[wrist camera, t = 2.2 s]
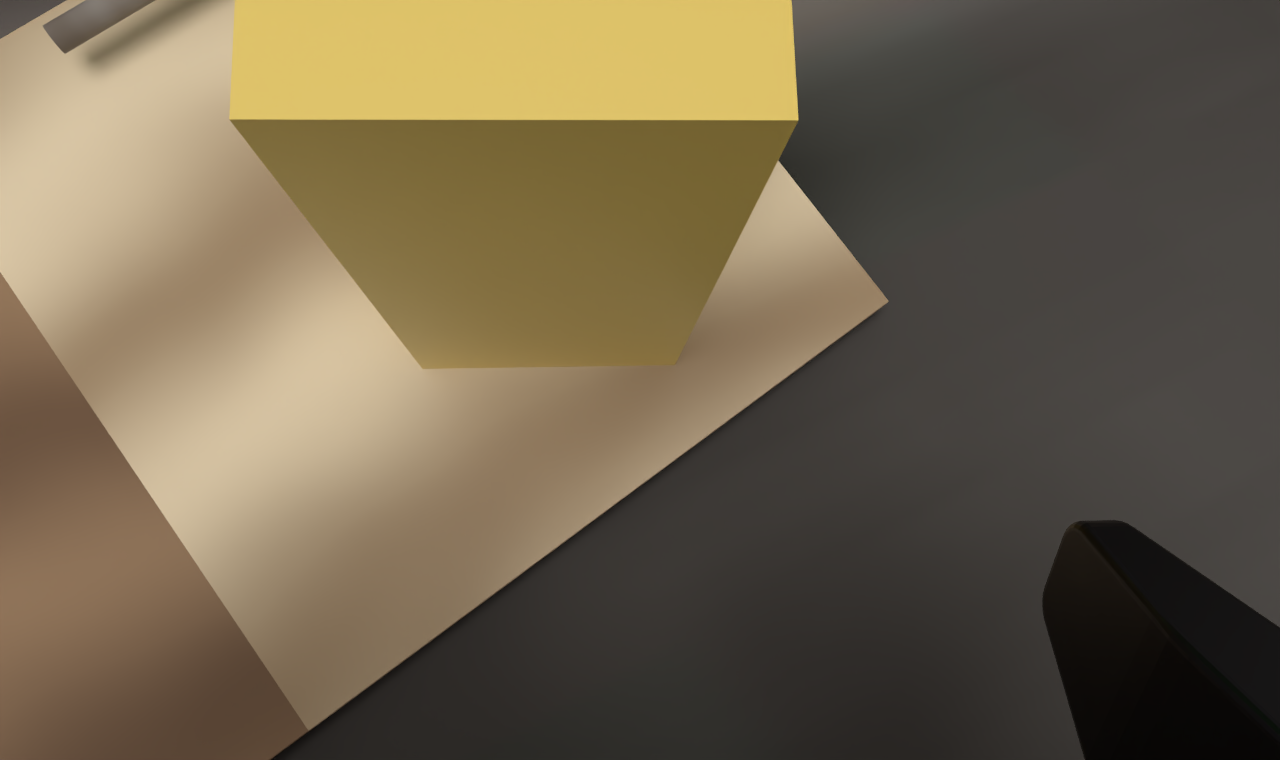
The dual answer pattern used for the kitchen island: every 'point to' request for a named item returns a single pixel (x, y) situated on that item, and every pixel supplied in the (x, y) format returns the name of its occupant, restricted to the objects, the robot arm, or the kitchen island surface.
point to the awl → (89, 20)
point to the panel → (282, 416)
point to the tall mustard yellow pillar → (522, 160)
